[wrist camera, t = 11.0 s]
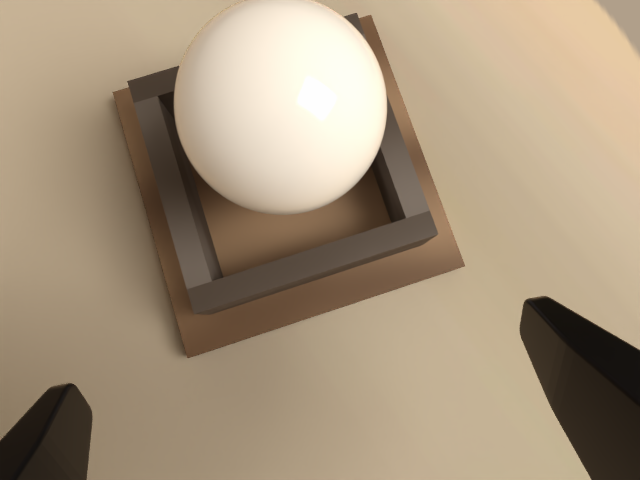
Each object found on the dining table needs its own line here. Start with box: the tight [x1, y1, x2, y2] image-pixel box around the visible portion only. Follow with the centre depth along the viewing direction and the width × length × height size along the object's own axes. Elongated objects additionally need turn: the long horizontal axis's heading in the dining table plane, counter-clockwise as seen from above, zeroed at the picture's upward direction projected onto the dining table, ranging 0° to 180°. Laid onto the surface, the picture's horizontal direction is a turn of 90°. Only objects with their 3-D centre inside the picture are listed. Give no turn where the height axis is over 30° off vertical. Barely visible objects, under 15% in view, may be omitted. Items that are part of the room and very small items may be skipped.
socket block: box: [113, 13, 465, 358], centre depth 22 cm, size 13×13×4 cm
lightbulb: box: [174, 0, 387, 215], centre depth 17 cm, size 6×6×11 cm
